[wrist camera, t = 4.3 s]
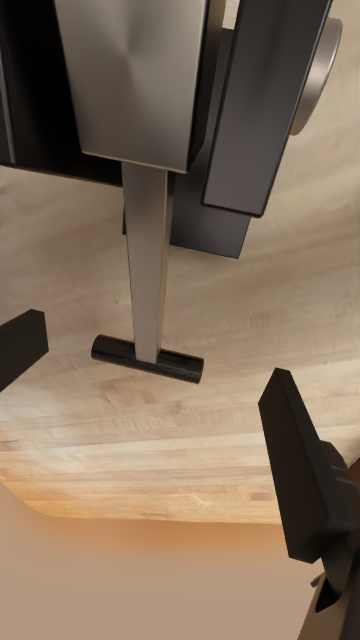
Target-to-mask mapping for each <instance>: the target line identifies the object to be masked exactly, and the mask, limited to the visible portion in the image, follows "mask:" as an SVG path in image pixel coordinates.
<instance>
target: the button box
mask: <svg viewBox="0 0 360 640" xmlns="http://www.w3.org/2000/svg"><path fill="white" fill-rule="evenodd" d="M349 473H350V474H351V476H352V478H353V480H354V482H355V486H357V488H358V490H359V492H360V459H359V460H358V461H357V462H356V463H355V464H354V465H353V466H352V467H351V468H350V469H349Z"/></svg>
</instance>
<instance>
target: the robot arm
mask: <svg viewBox="0 0 360 640" xmlns="http://www.w3.org/2000/svg"><path fill="white" fill-rule="evenodd" d="M48 351H49V349H48V341H47V332H46V324H45V315H44V312H42V311H38V310H34V309H30V310H29V311H27V312H25V313H23V314H21V315H19V316H18V317H16V318H14V319H12V320H10V321H8V322H7V323H5V324H3V325H1V326H0V392H2V391H3V390H4V389H5V388H6V387H7V386H9V385H10V384H11V383H12V382H13V381H14V380H16V379H17V378H18V377H19V376H20V375H21V374H23V373H24V372H25V371H26V370H27V369H28V368H30V367H31V366H32V365H33V364H34V363H35V362H37V361H38V360H39V359H40V358H41V357H42V356H44V355H45V354H46V353H47V352H48ZM258 406H259V411H260V416H261V421H262V426H263V431H264V436H265V441H266V445H267V450H268V455H269V460H270V465H271V470H272V475H273V480H274V485H275V490H276V495H277V500H278V505H279V510H280V515H281V520H282V525H283V530H284V535H285V540H286V545H287V550H288V555H289V557H290V558H292V559H296V560H299V561H303V562H307V563H310V564H313V563H314V562H315V561H317V560H318V559H319V558H320V557H321V559H322V562H323V566H324V569H325V572H323V573H322V574H320V575H319V576H318V577H316V578H315V579H314V580H313V581H312V582H311V586H312V587H315V586H317V585H318V586H317V588H316V591H315V594H314V596H313V600H312V602H311V605H310V607H309V610H308V613H307V615H306V618H305V621H304V624H303V626H302V629H301V631H300V634H299V637H298V639H297V640H360V492H359V490H358V488H357V486H355V482H354V480H353V478H352V476H351V474H350V473H349V470H348V468H347V466H346V464H345V462H344V459H343V457H342V456H341V455H340V453H339V452H338V451H337V450H336V448H335V447H334V446H333V445H332V444H331V443H330V442H326V441H322V440H320V439H319V437H318V435H317V432H316V430H315V428H314V425H313V423H312V421H311V418H310V416H309V414H308V412H307V409H306V407H305V405H304V402H303V400H302V398H301V395H300V393H299V391H298V388H297V386H296V384H295V382H294V379H293V377H292V375H291V372H290V371H289V370H285V369H280V368H276V367H275V369H274V371H273V374H272V376H271V378H270V380H269V382H268V384H267V386H266V388H265V390H264V392H263V394H262V396H261V398H260V400H259V402H258Z"/></svg>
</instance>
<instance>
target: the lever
mask: <svg viewBox="0 0 360 640" xmlns="http://www.w3.org/2000/svg"><path fill="white" fill-rule="evenodd" d="M52 2H53V7H54V13H55V18H56V23H57V29H58V34H59V39H60V45H61V50H62V55H63V61H64V66H65V71H66V77H67V82H68V87H69V93H70V98H71V103H72V108H73V114H74V119H75V124H76V130H77V135H78V140H79V146H80V150H81V152H82V153H84V154H88V155H93V156H98V157H103V158H108V159H113V160H118V161H121V168H122V182H123V195H124V208H125V221H126V234H127V247H128V260H129V273H130V287H131V300H132V313H133V326H134V339H135V342H132V341H128V340H124V339H119V338H115V337H111V336H106V335H102V334H100V335H98V336H97V337H96V339H95V340H94V343H93V345H92V350H91V357H92V359H94V360H98V361H102V362H107V363H111V364H115V365H119V366H123V367H128V368H132V369H136V370H140V371H144V372H148V373H153V374H157V375H161V376H165V377H169V378H173V379H178V380H182V381H186V382H190V383H194V384H199V382H200V379H201V376H202V371H203V366H204V359H203V358H200V357H196V356H192V355H187V354H183V353H179V352H175V351H170V350H166V349H162V348H161V338H162V327H163V315H164V303H165V291H166V280H167V268H168V256H169V244H170V233H171V221H172V209H173V197H174V186H175V174H176V172H178V173H183V174H185V173H188V171H189V169H190V168H191V166H192V164H193V162H194V160H195V158H196V157H197V155H198V153H199V151H200V149H201V147H202V145H203V144H204V140H205V134H206V127H207V121H208V115H209V108H210V102H211V95H212V89H213V83H214V76H215V70H216V63H217V57H218V51H219V44H220V38H221V32H222V25H223V19H224V12H225V6H226V0H52Z"/></svg>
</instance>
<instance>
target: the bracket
mask: <svg viewBox="0 0 360 640" xmlns="http://www.w3.org/2000/svg"><path fill="white" fill-rule="evenodd" d="M332 2H333V0H240V2H239V7H238V12H237V17H236V22H235V28H234V30H232V29H226V28H222V32H221V38H220V44H219V51H218V57H217V63H216V70H215V76H214V83H213V89H212V95H211V102H210V108H209V115H208V121H207V127H206V134H205V140H204V144H203V145H202V147H201V149H200V151H199V153H198V155H197V157H196V158H195V160H194V162H193V164H192V166H191V168H190V169H189V171H188V173H185V174H183V173H178V172H176V174H175V186H174V197H173V209H172V221H171V233H170V245H174V246H179V247H184V248H188V249H193V250H198V251H202V252H207V253H212V254H216V255H221V256H226V257H230V258H235V259H238V258H239V255H240V252H241V249H242V245H243V242H244V239H245V235H246V232H247V229H248V225H249V222H250V219H251V217H253V218H261V217H262V216H263V215H264V212H265V209H266V206H267V203H268V200H269V196H270V193H271V190H272V187H273V184H274V181H275V178H276V175H277V172H278V169H279V166H280V163H281V159H282V156H283V153H284V150H285V147H286V144H287V141H288V138H289V135H297V134H299V133H300V132H301V130H302V129H303V127H304V126H305V125H306V123H307V121H308V120H309V118H310V116H311V114H312V112H313V110H314V108H315V106H316V104H317V102H318V100H319V98H320V96H321V93H322V91H323V89H324V86H325V84H326V81H327V79H328V76H329V74H330V71H331V68H332V65H333V63H334V60H335V57H336V53H337V50H338V46H339V43H340V38H341V33H342V22H341V20H340V19H335V18H329V17H328V14H329V11H330V8H331V5H332ZM0 166H5V167H10V168H15V169H20V170H26V171H32V172H37V173H43V174H48V175H54V176H59V177H65V178H71V179H76V180H82V181H87V182H93V183H98V184H104V185H109V186H115V187H121V188H123V182H122V168H121V161H118V160H113V159H108V158H103V157H98V156H93V155H88V154H84V153H82V152H81V150H80V146H79V140H78V135H77V130H76V124H75V119H74V114H73V108H72V103H71V98H70V93H69V87H68V82H67V77H66V71H65V66H64V61H63V55H62V50H61V45H60V39H59V34H58V29H57V23H56V18H55V13H54V7H53V2H52V0H0ZM122 234H123V235H127V234H126V221H125V208H124V214H123V232H122Z"/></svg>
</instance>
